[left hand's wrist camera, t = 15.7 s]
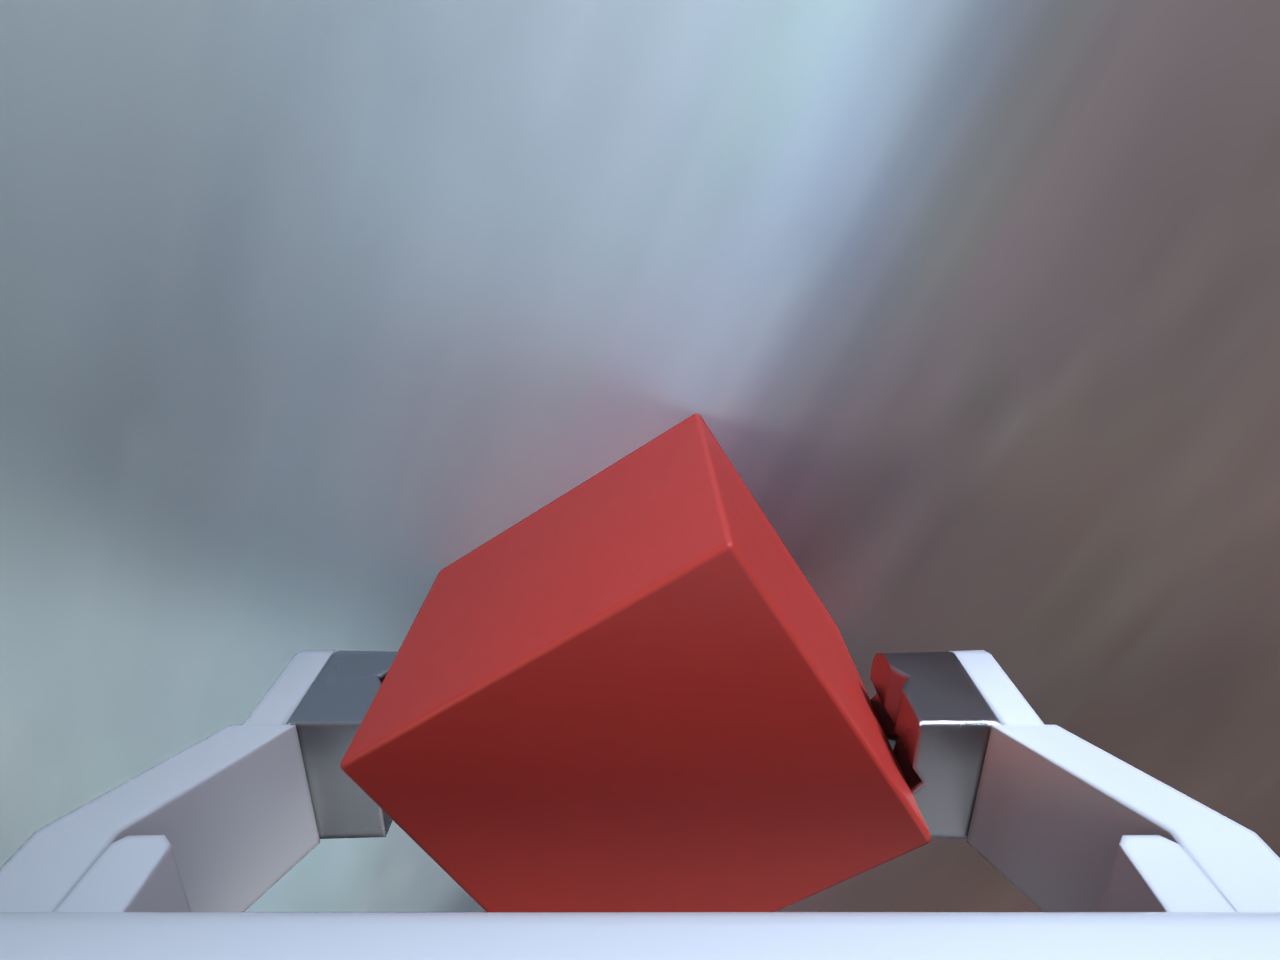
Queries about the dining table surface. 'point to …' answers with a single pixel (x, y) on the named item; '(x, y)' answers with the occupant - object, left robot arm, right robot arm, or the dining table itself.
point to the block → (635, 708)
